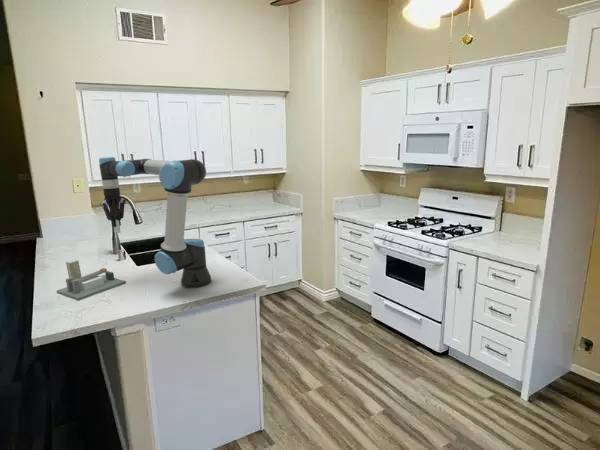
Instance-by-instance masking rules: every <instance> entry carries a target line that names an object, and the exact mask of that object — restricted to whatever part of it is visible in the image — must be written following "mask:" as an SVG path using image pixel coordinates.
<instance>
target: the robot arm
mask: <svg viewBox="0 0 600 450" xmlns="http://www.w3.org/2000/svg"><path fill="white" fill-rule="evenodd" d="M98 161H99V162H98V163H99V164H98V165H99V170H100V177H101V183H102V188H103V196H104V199H103V201H102V202H100V203H99V204H100V206H101V207H102V209H103V211H104V214H105V216H106V219H107V220H108V221H111V224H112V228H114V233H115V234H120V233H121V232H122V231H121V227H120V226H121V225H122V223H121V221H122V219H123V218H124V217H125V216H124V215H125V204H126V202H127V199H123V198H122V195H121V190H120V183H119V177H123V178H126V177H132V176H136V175H154V176H158V179H159V181H160V184H161V186H162V187H163V189H164V190H163V191H165V192H166V194H167V196H166V211H165V212H166V213H165V228H164V230H165V231H164V241H163V242H162V243H160V251H157V253H155V255H154V263H155V266H156V267H157V268H158V270H159V271H160V272H161V273H162V274H165V275H170V274H175V273H177V272H179V271H181V270H182V275H181V279H180V285H181V286H182V287H184V288H191V289H192V288H193V289H194V288H200V287H204V286H206V285H209V284H210V283H211V282H212V277H211V274H210V272H209V270H208V267H207V259H206V258H207V257H206V247H205V242H204V240H203V239H200V238H185V230H186V229H185V227H186V214H187V203H188V196H189V195H190V194H191V193H192V186H193V185H198V184H201V183H202V182H203V181H204V180H205V178H206V176H207V169H206V166H205V164H204V162H202V161H201V160H198V159H193V158H192V159H191V158H190V159H183V160H159V159H156V160H155V159H151V158H142V159H141V158H140V159H129V160H117V159H116V157H114V156H103V157H99V159H98Z"/></svg>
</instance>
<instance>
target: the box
mask: <svg viewBox="0 0 600 450" xmlns="http://www.w3.org/2000/svg"><path fill="white" fill-rule="evenodd" d="M65 264H66V265H65V266H66V269H67V274H68V278H72V279H73V280H75V279H78V278H81V277H83V276H82V271H81V267H80V263H79V259H71V260H67V261H65Z"/></svg>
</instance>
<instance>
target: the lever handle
mask: <svg viewBox="0 0 600 450" xmlns="http://www.w3.org/2000/svg"><path fill="white" fill-rule="evenodd" d="M107 269H108V268H106V267H105V268H104V267H102V268H99V270H97V271H94V272H92V273H89V274H85V275H84V276H82V277H81V278H78V279H75V280H78V281H79V282H81V281H84V280H87V279H89V278H92V277H94V276H101V275H102V274H105V272H107V271H108V270H107Z"/></svg>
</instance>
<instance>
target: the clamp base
mask: <svg viewBox="0 0 600 450" xmlns="http://www.w3.org/2000/svg"><path fill="white" fill-rule="evenodd" d="M114 275H115V274H114V272H112V271H108V270H107V272H105V273H104V274H103V275H102V274H101V275H97V276H94V277H92V278H89V279H87V280H84V281H81V282H79V281H78V280H73V279H72V278H69V277H68V278H65V281H66V282H65V283H66V287H63V288H60V289H58V290H56V293H57V294H59V295H62V296H65V297H68V298H70V299H73V300H76V301H81V300H84V299H87V298H89V297H90V298H91V297H92V296H94V295H98V294H100V293H103V292H106V291H108V290H111V289H114V288H117V287H120V286H122V285H125V284H126V283H127V281H126V280H123V279H120V278H116V277H115V276H114Z"/></svg>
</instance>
